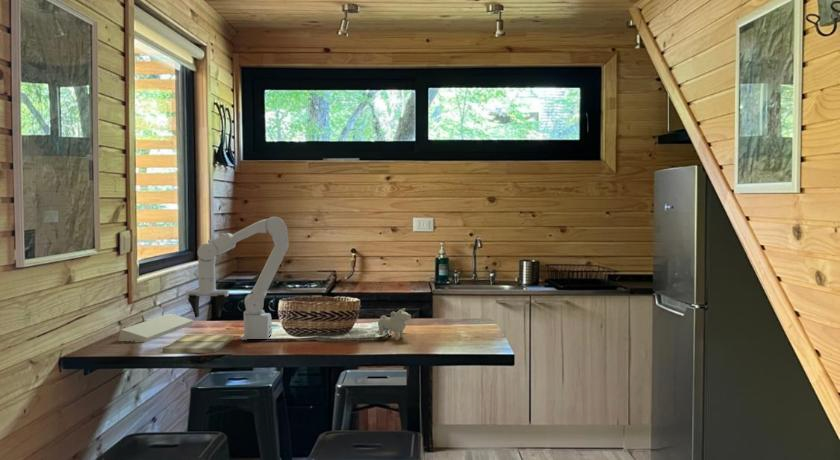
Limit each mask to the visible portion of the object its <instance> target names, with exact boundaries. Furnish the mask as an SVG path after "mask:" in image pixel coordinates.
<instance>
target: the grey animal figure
mask: <svg viewBox="0 0 840 460" xmlns="http://www.w3.org/2000/svg"><path fill="white" fill-rule="evenodd" d="M411 318H412V315H411V314H409V313H408V312H406V308H404V307H403V308H401V309H399V310H398V311H396V312H395V311H391V312H390V317H387V316H386V315H381V316H380V318H379V320H378V321H377V325H378V333H379V335H383V332H384V334H385V333H388V334H389V330H390V331H392V332H393V333H394V340H397V341H398V340H400V339H399V338H401V339H402V338H405V336H404V330H405V329H406V328H407V327H406V326H407V322H409V321H410V320H411Z"/></svg>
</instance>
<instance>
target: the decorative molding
mask: <svg viewBox="0 0 840 460" xmlns="http://www.w3.org/2000/svg"><path fill="white" fill-rule="evenodd" d="M193 322H194V320H193V319H190V318H186V317H184V316H181V315H177V314H174V313H171V312H170V313H167V314H164V315H161V316H160V315H159V317H158V316H157V317H155V318H151V319H148V320H145V321H142V322H140V323H137V324H134V325H131V326H127V327H124V328H122V329H120V331H119V336H118V342H119V341H127V342H132V343H147V342H150V341H151V340H155V339H157V338H159V337H162V336H165V335H167V334H170V333H172V332H176V331H178V329H179V330H181V329H183V328H186V327H189V326H191V325H192V324H193Z"/></svg>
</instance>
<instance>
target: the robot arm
mask: <svg viewBox="0 0 840 460" xmlns="http://www.w3.org/2000/svg"><path fill="white" fill-rule="evenodd" d="M267 232H268V233H269V235H270V236H271V238H272V241H273V244H274V246H273V248H272V250H271V252H270V254H269V256H268V258H267V260H266V262H265V265H264V267H263V268H262V269H261V272H260V275H259V277H258V278H257V281H256V283H255V284H254V286H253V288H251V291H250V292H249V293H248V294H247V295H245V297H244V308H245V310H244V311H243V336H242V337H240V340H243V341H244V340H246V341H247V339H267V338H268V337H269V336H270V335H272V336H273V333H272V330H273V327H272V325H273V322H272V314H271V313H270V312H265V310H264V306H265V305H264V303H265V302H264V301H265V298H266V296H267V293H268V291H269V288H270V286H271V284H272V282H273V280H274V278H275V276H276V274H277V272H278V269H279V268H280V266H281V264H282V261H283V260H284V257H285V255H286V254H287V251H288V249H289V247H290V240H289V233H288V227H287V224H286V223H285V221H284V219H282V218H281V217H279V216H270V217H269V218H265V219H261V220H259V221H256V222H254V223H252V224H251V225H248V226H246V227H244V228H242V229H240V230H237V232H234V233H230V232H226V233H224V232H222V233H220V236H218V237H216V238H213V239H208V240H207V242H208V243H202V244H200V246H199V247H198V249H197V256H198V260H197V261H198V262H197V263H198V264H197V270H198V271H197V273H198V275H197V278H198V279H197V281H198V289H193V290H191V289H189V290H185V297H186V298H187V297H188V298H187V301H188V303H189V304H190V306H191V308H192V312H193V313H194V318H198V317H200V307H199V305H200V304H199V303H200V298H201V297H215V298H214V299H215V305H216V317H217V318H220V317H222V312H223V311H222V310H223V307H224V304H225V302H226V299H227V297H228V296H229V295H230V290H229V289H217V288H216V282H217V281H216V264H215V256H216V255H217V256H220V255H222V254H224V253H227V252H228V251H230V250H232V249H234V248H235V247H236V246H237V243H238V242H241V241H242V240H245V239H247V238H249V237H251V236H254V235H256V234H267ZM269 338H270V337H269ZM269 338H268V339H269ZM268 339H267V340H268Z"/></svg>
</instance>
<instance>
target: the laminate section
mask: <svg viewBox="0 0 840 460" xmlns="http://www.w3.org/2000/svg"><path fill="white" fill-rule="evenodd" d="M225 346H226V345H225V342H175V341H172V343H169V344H167V345H166V346H165V347H164V346H163V348H162V353H163V354H164V353H165V354H169V353H170V354H175V353H176V354H179V353H180V354H186V353H187V354H188V353H190V354H195V353H199V354H202V353H203V354H205V353H206V354H207V353H208V354H211V353H213V354H215V353H217V352H218V351H219V350H221V349H223V348H224V347H225Z"/></svg>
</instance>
